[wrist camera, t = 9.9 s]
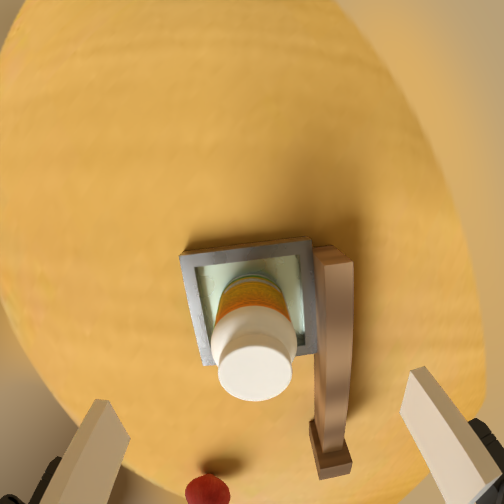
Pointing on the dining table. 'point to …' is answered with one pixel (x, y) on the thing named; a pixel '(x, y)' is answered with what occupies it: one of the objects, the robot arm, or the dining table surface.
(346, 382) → the door edge rail
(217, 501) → the onion
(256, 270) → the socket
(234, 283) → the supplement bottle
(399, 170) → the dining table surface
